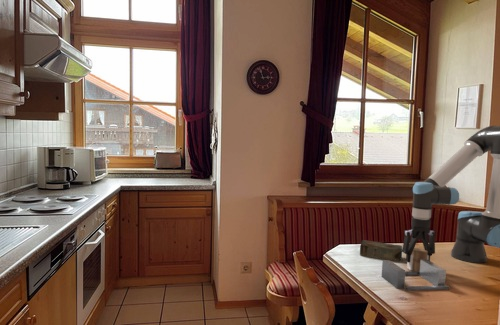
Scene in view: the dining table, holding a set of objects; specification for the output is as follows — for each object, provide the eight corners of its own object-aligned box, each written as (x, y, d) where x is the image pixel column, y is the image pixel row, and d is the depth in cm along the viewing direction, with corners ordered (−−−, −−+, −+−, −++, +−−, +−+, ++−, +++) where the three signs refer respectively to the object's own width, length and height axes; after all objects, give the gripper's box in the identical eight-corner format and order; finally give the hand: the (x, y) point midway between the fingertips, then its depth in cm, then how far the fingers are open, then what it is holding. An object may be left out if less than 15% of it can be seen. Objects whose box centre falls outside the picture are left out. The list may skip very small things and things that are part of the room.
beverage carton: (401, 262, 175) (402, 248, 174) (359, 256, 182) (359, 242, 181) (401, 257, 182) (402, 244, 182) (360, 251, 189) (361, 238, 189)
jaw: (426, 275, 158) (427, 259, 158) (444, 287, 147) (446, 269, 146) (419, 275, 158) (420, 259, 157) (437, 287, 146) (438, 270, 146)
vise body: (424, 273, 161) (425, 257, 160) (449, 289, 145) (450, 271, 144) (379, 274, 158) (380, 258, 157) (399, 291, 142) (401, 273, 141)
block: (419, 267, 168) (420, 247, 167) (426, 271, 163) (427, 251, 163) (408, 267, 167) (410, 248, 167) (415, 271, 163) (416, 251, 162)
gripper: (436, 215, 169) (432, 265, 170) (395, 215, 166) (391, 266, 168) (447, 219, 161) (443, 271, 163) (404, 219, 158) (401, 272, 160)
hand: (417, 269), depth 165 cm, fingers open, 7 cm apart
